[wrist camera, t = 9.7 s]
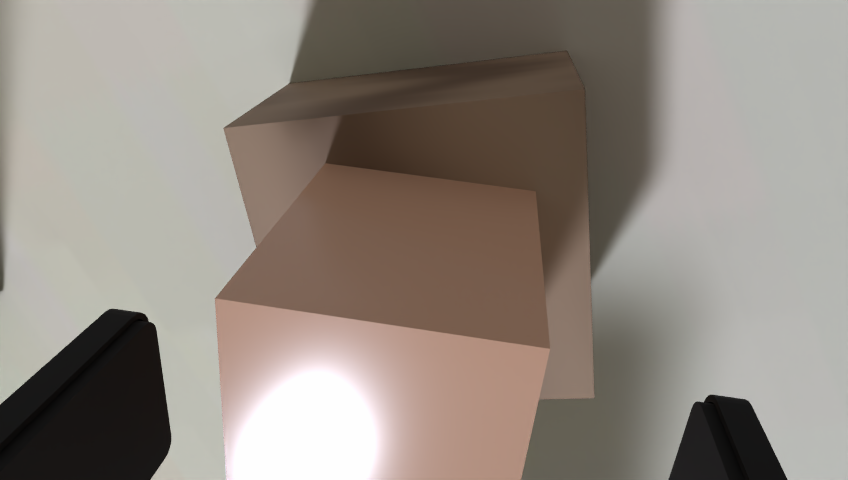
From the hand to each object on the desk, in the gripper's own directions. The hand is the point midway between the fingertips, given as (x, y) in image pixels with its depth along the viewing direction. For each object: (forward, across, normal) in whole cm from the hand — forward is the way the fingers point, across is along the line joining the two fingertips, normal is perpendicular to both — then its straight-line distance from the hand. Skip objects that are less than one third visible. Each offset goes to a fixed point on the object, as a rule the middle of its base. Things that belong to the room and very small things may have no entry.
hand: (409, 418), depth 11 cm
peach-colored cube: (+5, +1, 0) cm, 5 cm away
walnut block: (+10, +1, 0) cm, 10 cm away
